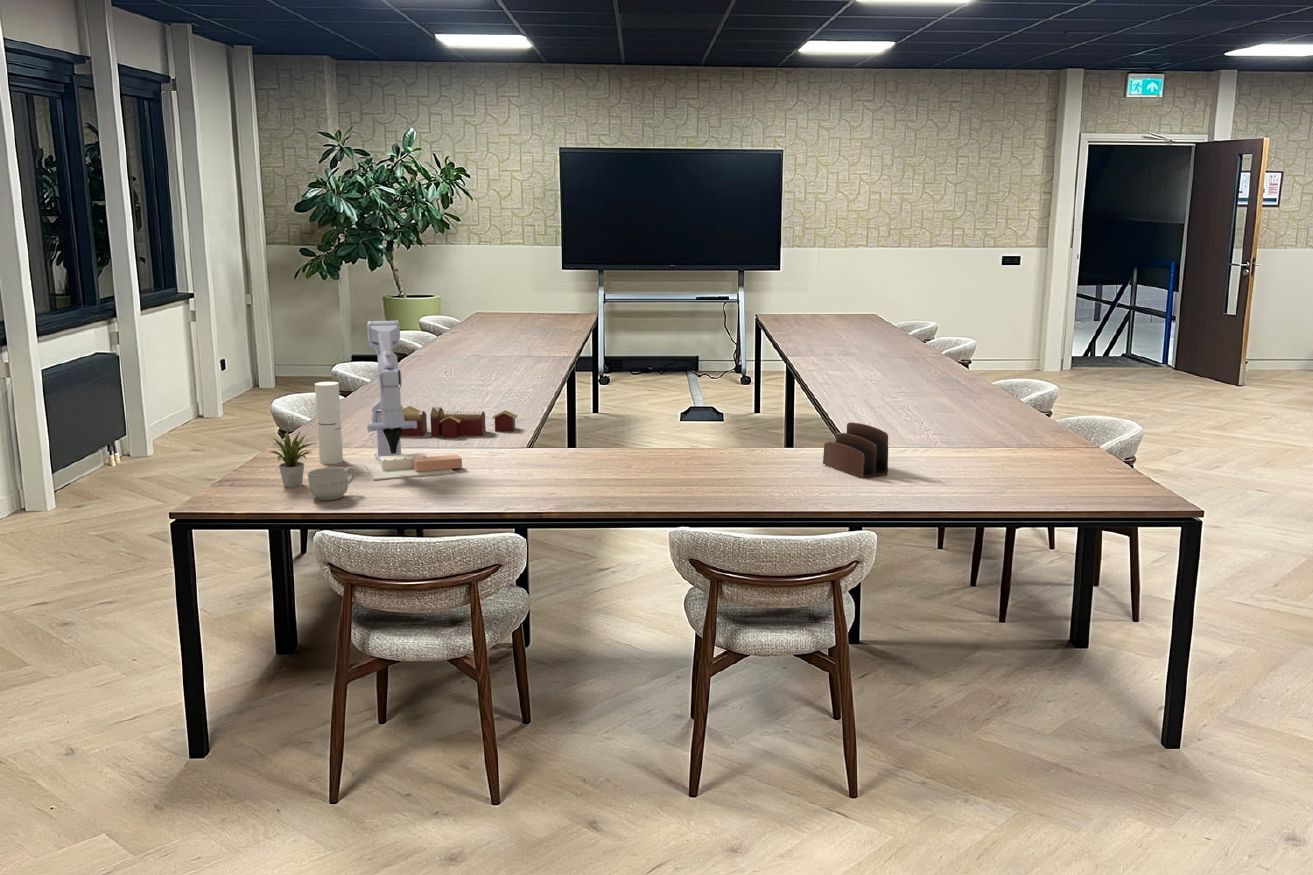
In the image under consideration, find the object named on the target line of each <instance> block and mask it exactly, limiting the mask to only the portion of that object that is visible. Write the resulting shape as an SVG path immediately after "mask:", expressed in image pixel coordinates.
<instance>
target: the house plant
mask: <svg viewBox="0 0 1313 875" xmlns="http://www.w3.org/2000/svg"><path fill="white" fill-rule="evenodd" d="M300 434H301V431H299V432H298V433H297V434H296V436H295V437H294V438H293V441H292V442H291V437H290V435H289V431H288V430H286V432H285V433H284V438H282V437H279V436H278V437H276V438H279V439H281V440H282V441H283V442H284V444H283V443H282V442H280V441H279V440H277V439H276V438H273V440H274V441H271V442H272V444H274V445H275V446H276V447H277V449H278V450H280V451H281V453H280V452H278V451H276V450H272V451H269V453H271V454H275V455H278V456H277V462H279V461H281V460H282V461H283V462H282V463H280V464H278V469H279V473H280V475H281V480H282V484H283V485H282V486H283V487H284V486H285V488H289V489H291V488H298V487H301V486H303V479H304V471H305V469H304V468H305V463H304V462H303V461H302V462H301V461H300V460H301V459H302V458H304V459H305V460H307V458H306V455H309V454H311V455H312V454H314V453H313V451H314V450H315V449H305V450H303V449H304V448H308V447H309V446H312V445H317V444H318V442H317V443H316V442H314V443H313V442H311V443H309V440H311V439H312V437H310V438H307V439H306V440H304V439H305V438H306V437H307V435H308V433H306V434H303V435H302V436H301V437H300V439H299V436H300ZM315 438H316V436H315V437H314V436H313V439H315ZM298 439H299V440H298ZM301 450H302V451H301ZM312 450H313V451H312Z"/></svg>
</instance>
